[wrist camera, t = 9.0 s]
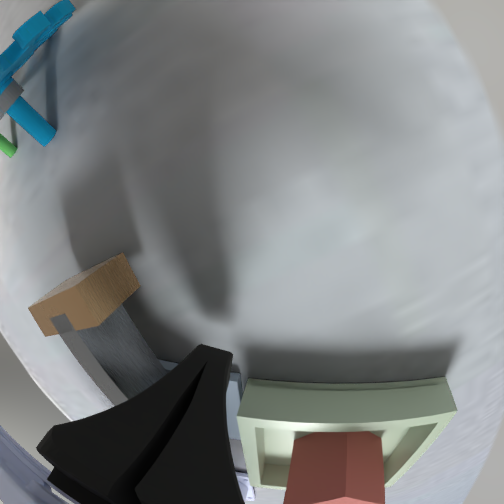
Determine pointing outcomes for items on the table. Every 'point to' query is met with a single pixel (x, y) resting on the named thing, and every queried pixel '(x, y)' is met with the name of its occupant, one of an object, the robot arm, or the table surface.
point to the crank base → (232, 399)
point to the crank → (101, 328)
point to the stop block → (336, 469)
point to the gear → (13, 58)
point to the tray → (339, 421)
